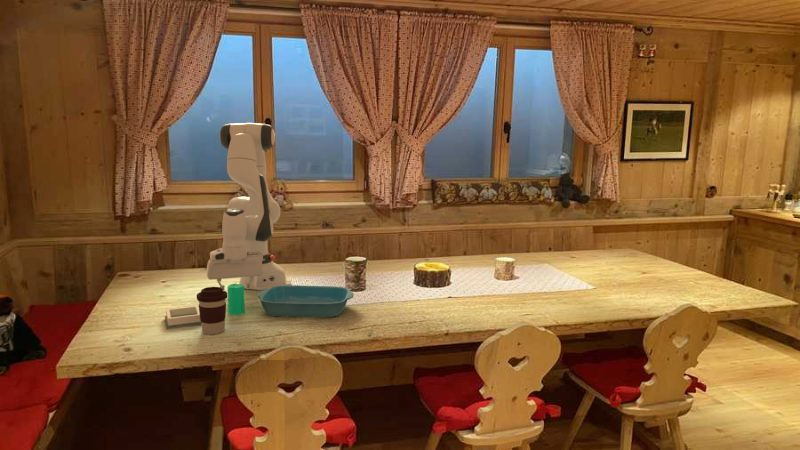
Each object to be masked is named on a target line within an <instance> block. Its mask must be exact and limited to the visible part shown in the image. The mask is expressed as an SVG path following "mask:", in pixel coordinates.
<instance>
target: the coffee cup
mask: <svg viewBox="0 0 800 450" xmlns="http://www.w3.org/2000/svg"><path fill="white" fill-rule="evenodd" d="M226 299H228V291H226V290H223V289H222V288H220V286H208V287H204V288H202V289H201V290H200V292H198V293H197V294H196V300H197V301H198V307H199V313H200V321H201V324H200V325H201V331H202V334H204V335H219V334H221V333H223V332H224V331H225V324H226V323H225V322H226V316H227V300H226Z"/></svg>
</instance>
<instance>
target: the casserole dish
mask: <svg viewBox="0 0 800 450" xmlns="http://www.w3.org/2000/svg"><path fill="white" fill-rule="evenodd" d="M256 297H257V298H259V300H260V302H261V306H262V308H263V310H264V312H265V313H266V314H268V316H269V315H270V316H272V315H273V316H272V317H282V316H289V318H313V317H329V318H335V317H334V316H336V317H338V316H339V315H340V314H341V313H343V311H344V309H345V308H346V305H347V302H348V300H351V299H353V297H354V292H353V291H350V289H349V288H348V287H343V286H335V285H334V286H332V285H331V286H329V285H327V286H326V285H298V284H297V285H296V284H295V285H294V284H293V285H292V284H291V285H281V286H274V287H271V288H269V289H265V290H260V292H258V293H257V295H256ZM337 315H338V316H337Z"/></svg>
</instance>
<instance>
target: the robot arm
mask: <svg viewBox="0 0 800 450" xmlns="http://www.w3.org/2000/svg"><path fill="white" fill-rule="evenodd" d="M219 141H220V143H221V146H222V147H223V148H224V149H226V150H227V160H226V170H227V171H226V172H227V175H228V176H229V178H230V179H231V181H233V182H235V183H236V184H238V185H240V186H241V187H242V188H243V189H245V191H246V193H247V195H248V196H237V197H233V198H231V199H230V200H229V202H228V204H227V208H226V210H225V211H224V212H223V214H222V215H223V217H222V222H221V235H222V238H223V239H222V247H220V248H217V249H215V250H212V251H210V252H209V257H210V258H209V259H208V261H207V264H206V278H207V279H208V280H211V281H212V280H216V282H217V283H218V285H219V287H220V288H222V289H223V291H226V290H225V284H222V283H221V282H222V280H223V279H237V278H240V279H239V282H238V284H243V285H244V290H246V289H247V290H253V291H263V290H266V289H269V288H271V287H274V286H281V285H290V284H291V285H292V282H291V279H290V278H289V277H287V276H286V272H285V270H284V268H283V267H281V266H280V265H279V264H277V263H275V262H274V260H276V256H275V255H273V254H271V253H270V252H269V251H268V247H269V246H268V241H269V240H270V239H271V238H272V237H273V234H274V224H275V223H277V221H278V220H279V219H280V216H281V207H280V205H279V203H278V202H277V201H276V200H275V199H274V198H273V196H272V194H271V192H270V190H269V189H270V188H269V186H268V180H267V165H266V164H267V162H266V154H265V153H267V152H268V151H269V150H270V149H272V148H273V147H274V144H275V142H276V134H275V131H274V128H273V127H272V125H270V124H266V123H256V122H255V123H254V122H246V123H244V122H243V123H242V122H241V123H227V124H223V125H222V127H221V128H220V131H219Z"/></svg>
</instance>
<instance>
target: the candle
mask: <svg viewBox="0 0 800 450" xmlns="http://www.w3.org/2000/svg"><path fill="white" fill-rule="evenodd" d="M245 308H246V307H245V288H244V285H243V284H239V283H232V284H229V285H227V313H228V314H229V315H232V316H238V315H243V314H245V312H246V311H245V310H246V309H245Z"/></svg>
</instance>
